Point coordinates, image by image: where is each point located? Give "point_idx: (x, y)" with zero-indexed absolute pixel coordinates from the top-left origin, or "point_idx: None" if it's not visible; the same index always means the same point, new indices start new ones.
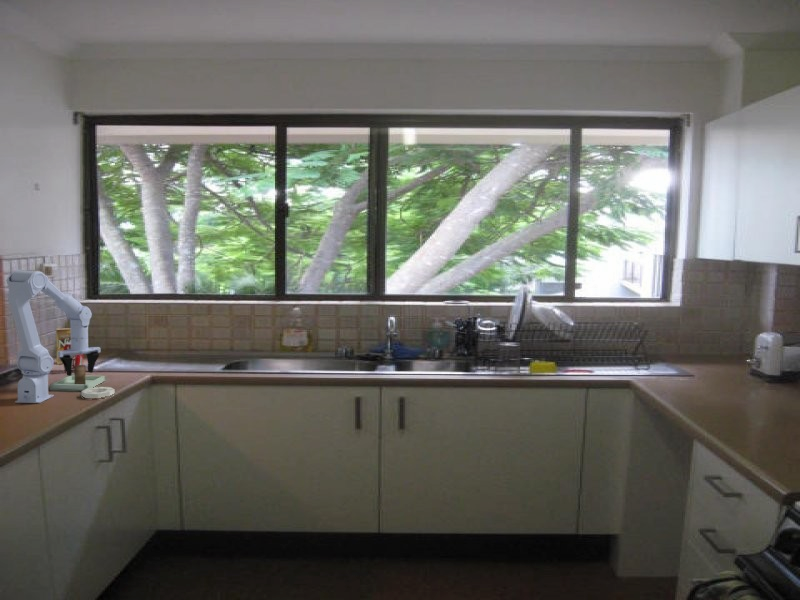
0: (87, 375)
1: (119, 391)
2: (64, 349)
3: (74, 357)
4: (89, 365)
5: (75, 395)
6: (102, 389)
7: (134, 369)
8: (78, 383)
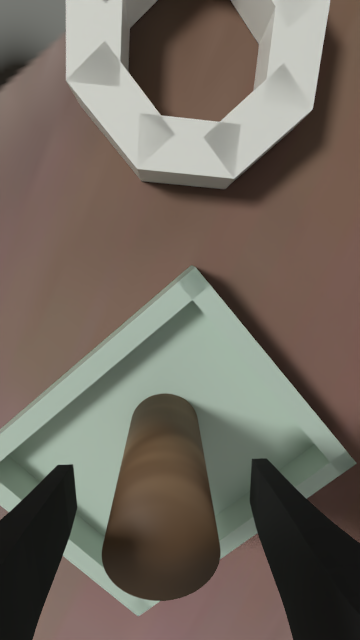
0: None
1: (7, 90)
2: None
3: None
4: (46, 556)
5: (294, 211)
6: (138, 88)
7: None
8: (187, 409)
